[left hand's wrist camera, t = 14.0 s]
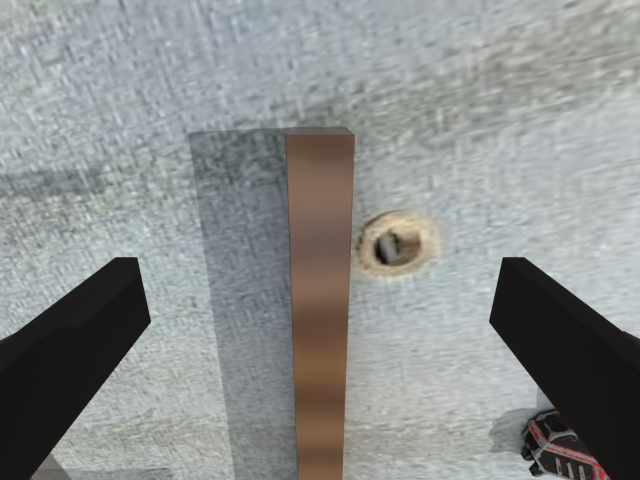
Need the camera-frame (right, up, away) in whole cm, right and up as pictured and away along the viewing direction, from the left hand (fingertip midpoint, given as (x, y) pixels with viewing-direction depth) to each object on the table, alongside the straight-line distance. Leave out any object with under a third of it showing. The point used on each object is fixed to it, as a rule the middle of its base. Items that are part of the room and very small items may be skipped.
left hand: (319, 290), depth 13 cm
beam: (0, -12, +31) cm, 33 cm away
